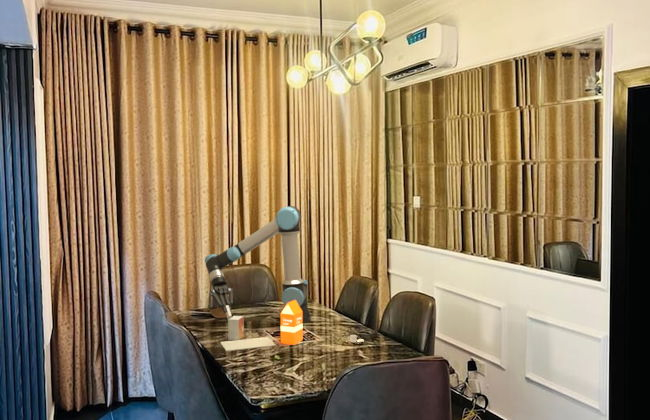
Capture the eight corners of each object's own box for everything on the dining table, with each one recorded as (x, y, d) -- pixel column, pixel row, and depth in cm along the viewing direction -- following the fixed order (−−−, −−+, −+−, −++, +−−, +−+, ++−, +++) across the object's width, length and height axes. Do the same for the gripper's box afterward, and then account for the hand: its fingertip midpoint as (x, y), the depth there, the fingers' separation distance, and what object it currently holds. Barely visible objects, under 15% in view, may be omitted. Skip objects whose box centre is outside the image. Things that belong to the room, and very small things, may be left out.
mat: (268, 337, 288) (268, 336, 288) (276, 345, 274) (276, 344, 274) (220, 342, 280) (220, 341, 280) (226, 351, 266) (226, 350, 266)
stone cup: (235, 318, 328) (235, 292, 328) (215, 320, 324) (214, 294, 323) (229, 312, 342) (228, 287, 341) (209, 314, 337) (208, 289, 337)
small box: (238, 340, 283) (238, 319, 282) (228, 340, 284) (227, 319, 283) (244, 336, 291) (244, 315, 290) (233, 335, 292) (233, 315, 291)
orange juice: (302, 340, 283) (302, 300, 282) (294, 344, 275) (294, 303, 274) (288, 338, 287) (288, 298, 286) (280, 343, 279) (279, 302, 278)
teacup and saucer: (365, 342, 280) (365, 334, 280) (360, 347, 273) (360, 338, 273) (348, 340, 283) (347, 332, 283) (343, 345, 276) (343, 337, 275)
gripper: (227, 283, 313) (239, 319, 299) (204, 285, 306) (215, 322, 293) (231, 274, 308) (243, 311, 295) (207, 277, 301) (219, 314, 288)
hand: (229, 317), depth 294 cm, fingers closed
